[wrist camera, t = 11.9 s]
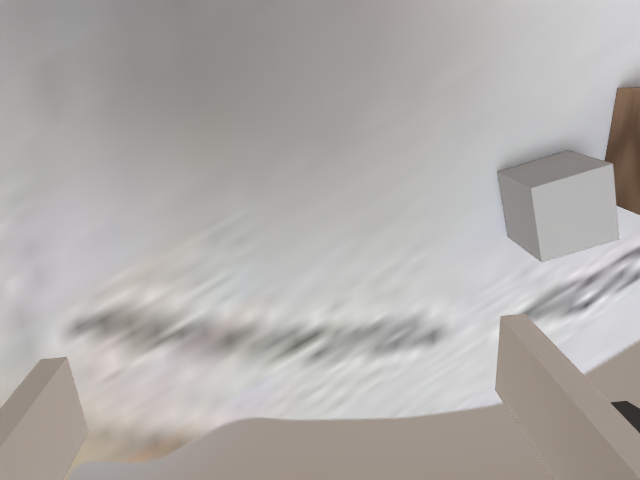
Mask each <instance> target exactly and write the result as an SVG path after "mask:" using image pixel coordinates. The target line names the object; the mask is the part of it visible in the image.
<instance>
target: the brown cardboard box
mask: <svg viewBox="0 0 640 480" xmlns="http://www.w3.org/2000/svg"><path fill="white" fill-rule="evenodd" d="M605 161H606V162H609V163H613V170H614V182H615V195H616V205H617V206H619V207H622V208H624V209H626V210H629V211H631V212H634V213H636V214H639V215H640V88H618V89H617V95H616V101H615V106H614V112H613V118H612V124H611V129H610V135H609V141H608V147H607V152H606V158H605Z"/></svg>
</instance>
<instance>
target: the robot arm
mask: <svg viewBox="0 0 640 480" xmlns="http://www.w3.org/2000/svg"><path fill="white" fill-rule="evenodd" d="M495 390H496V392H497V394H498V395H499V397H500V398H501V400H502V401H503V403H504V404H505V406H506V407H507V409H508V411H509V412H510V414H511V415H512V417H513V418H514V420H515V421H516V423H517V424H518V426H519V428H520V429H521V431H522V432H523V434H524V435H525V437H526V438H527V440H528V441H529V443H530V444H531V446H532V448H533V449H534V451H535V452H536V454H537V456H538V457H539V459H540V460H541V462H542V463H543V465H544V466H545V468H546V469H547V471H548V472H549V474H550V476H551V477H552V479H553V480H640V409H639V408H638V407H636V406H634V405H632V404H631V403H629V402H627V401H621V402H611V403H610V402H609V401H608V400H607V399H606V398H605V397H604V396H603V395H602V394H601V393H600V392H599V391H598V390H597V388H596V387H595V386H594V385H593V384H592V383H591V382H590V381H589V380H588V379H587V378H586V377H585V376H584V375H583V374H582V373H581V372H580V371H579V370H578V369H577V367H576V366H575V365H574V364H573V363H572V362H571V361H570V360H569V359H568V358H567V357H566V356H565V355H564V354H563V353H562V352H561V351H560V350H559V349H558V348H557V347H556V346H555V345H554V344H553V342H552V341H551V340H550V339H549V338H548V337H547V336H546V335H545V334H544V333H543V332H542V331H541V330H540V329H539V328H538V327H537V326H536V325H535V324H534V323H533V322H532V321H531V320H530V319H529V317H528V316H527V315H526V314H518V315H507V316H501V319H500V333H499V346H498V359H497V373H496V386H495ZM87 433H88V427H87V424H86V421H85V417H84V414H83V410H82V407H81V403H80V400H79V397H78V393H77V390H76V386H75V383H74V379H73V376H72V373H71V369H70V366H69V362H68V359H67V357H63V358H52V359H42V360H40V361H39V362H38V363H37V365H36V366H35V367H34V368H33V370H32V371H31V372H30V373H29V374H28V376H27V377H26V378H25V379H24V381H23V382H22V383H21V384H20V386H19V387H18V388H17V389H16V390H15V392H14V393H13V394H12V395H11V397H10V398H9V399H8V400H7V401H6V403H5V404H4V405H3V406H2V408H1V409H0V480H63V479H64V477H65V475H66V473H67V471H68V469H69V468H70V466H71V464H72V462H73V460H74V458H75V456H76V454H77V452H78V450H79V449H80V447H81V445H82V443H83V441H84V439H85V437H86V435H87Z"/></svg>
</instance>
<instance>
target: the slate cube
mask: <svg viewBox="0 0 640 480" xmlns="http://www.w3.org/2000/svg"><path fill="white" fill-rule="evenodd" d="M497 175H498V181H499V187H500V193H501V199H502V205H503V211H504V217H505V223H506V229H507V235H508V237H509V238H510V239H511V240H513V241H514V242H515V243H517V244H518V245H519V246H521V247H522V248H523V249H525V250H526V251H527V252H529V253H530V254H531V255H533V256H534V257H535V258H537V259H538V260H539V261H541V262H544V261H548V260H551V259H555V258H558V257H561V256H565V255H568V254H572V253H575V252H578V251H582V250H585V249H588V248H592V247H595V246H599V245H602V244H605V243H609V242H612V241H616V240H619V231H618V219H617V207H616V195H615V182H614V170H613V163H609V162H606V161H602V160H599V159H595V158H592V157H588V156H585V155H581V154H578V153H574V152H571V151H564V152H561V153H557V154H554V155H551V156H547V157H544V158H541V159H537V160H534V161H531V162H527V163H524V164H521V165H518V166H514V167H511V168H508V169H504V170H501V171H498V172H497Z"/></svg>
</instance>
